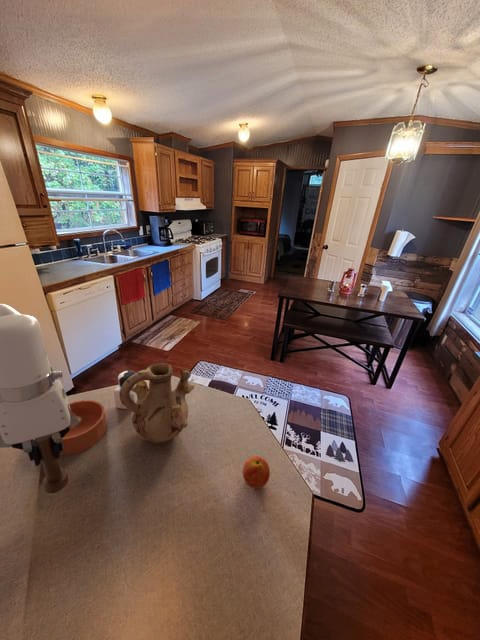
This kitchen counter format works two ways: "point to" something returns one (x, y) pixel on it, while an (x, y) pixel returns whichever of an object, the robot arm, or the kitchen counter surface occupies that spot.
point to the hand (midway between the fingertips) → (48, 455)
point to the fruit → (256, 472)
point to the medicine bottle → (121, 380)
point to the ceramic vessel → (157, 402)
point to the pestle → (51, 466)
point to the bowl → (85, 427)
